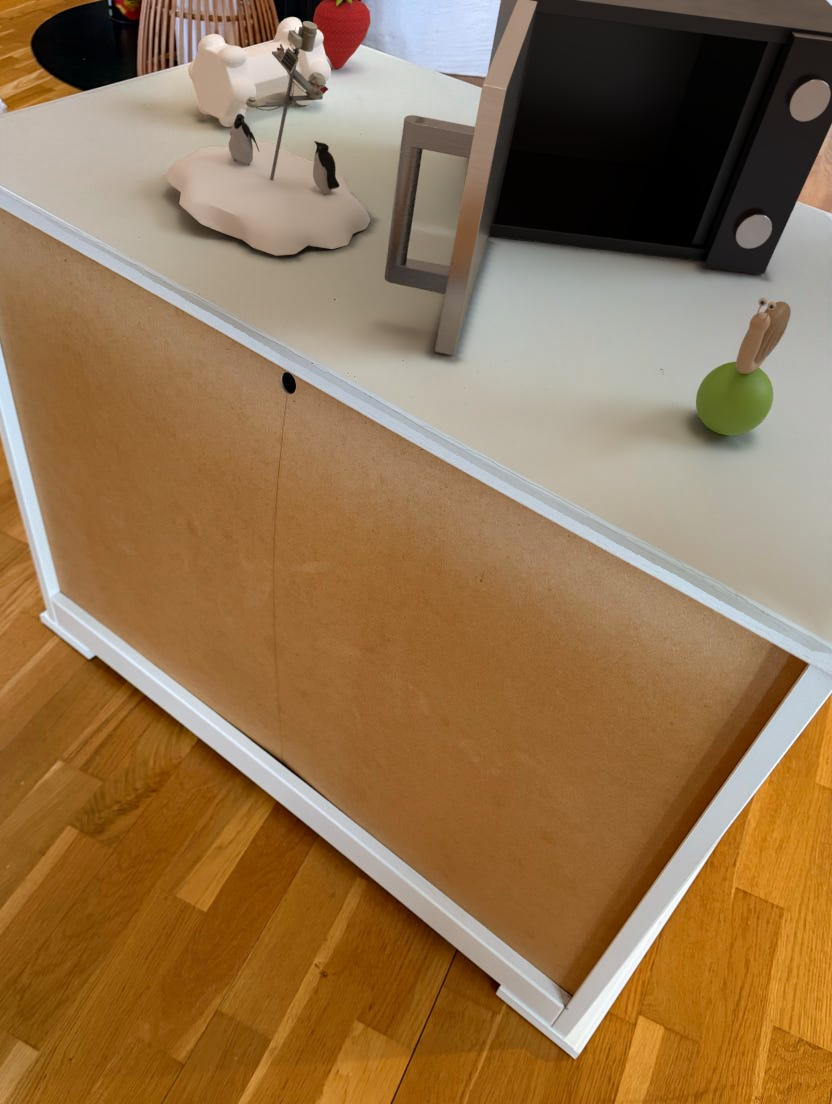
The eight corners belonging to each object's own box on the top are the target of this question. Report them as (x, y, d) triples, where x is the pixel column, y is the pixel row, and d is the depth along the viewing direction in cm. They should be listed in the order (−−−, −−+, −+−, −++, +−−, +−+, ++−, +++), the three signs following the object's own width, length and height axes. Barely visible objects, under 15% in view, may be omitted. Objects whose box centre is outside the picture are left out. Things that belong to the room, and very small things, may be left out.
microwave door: (371, 338, 75) (403, 70, 61) (418, 226, 90) (454, -14, 75) (453, 355, 75) (506, 89, 60) (488, 240, 89) (537, 1, 74)
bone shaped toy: (281, 86, 111) (283, 7, 105) (332, 110, 108) (338, 30, 102) (185, 112, 103) (181, 28, 97) (237, 138, 100) (237, 53, 94)
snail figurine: (667, 431, 71) (730, 285, 62) (704, 399, 74) (768, 256, 65) (731, 464, 69) (805, 318, 60) (766, 429, 72) (841, 286, 63)
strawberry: (375, 73, 117) (385, -20, 109) (326, 80, 114) (332, -16, 106) (350, 57, 120) (357, -35, 112) (301, 64, 117) (305, -31, 109)
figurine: (122, 188, 87) (120, -11, 74) (250, 142, 97) (267, -40, 85) (283, 287, 82) (309, 91, 69) (400, 227, 92) (442, 47, 79)
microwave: (765, 280, 89) (871, 46, 74) (480, 246, 88) (529, 2, 73) (717, 183, 104) (798, -29, 89) (472, 153, 103) (512, -66, 88)
